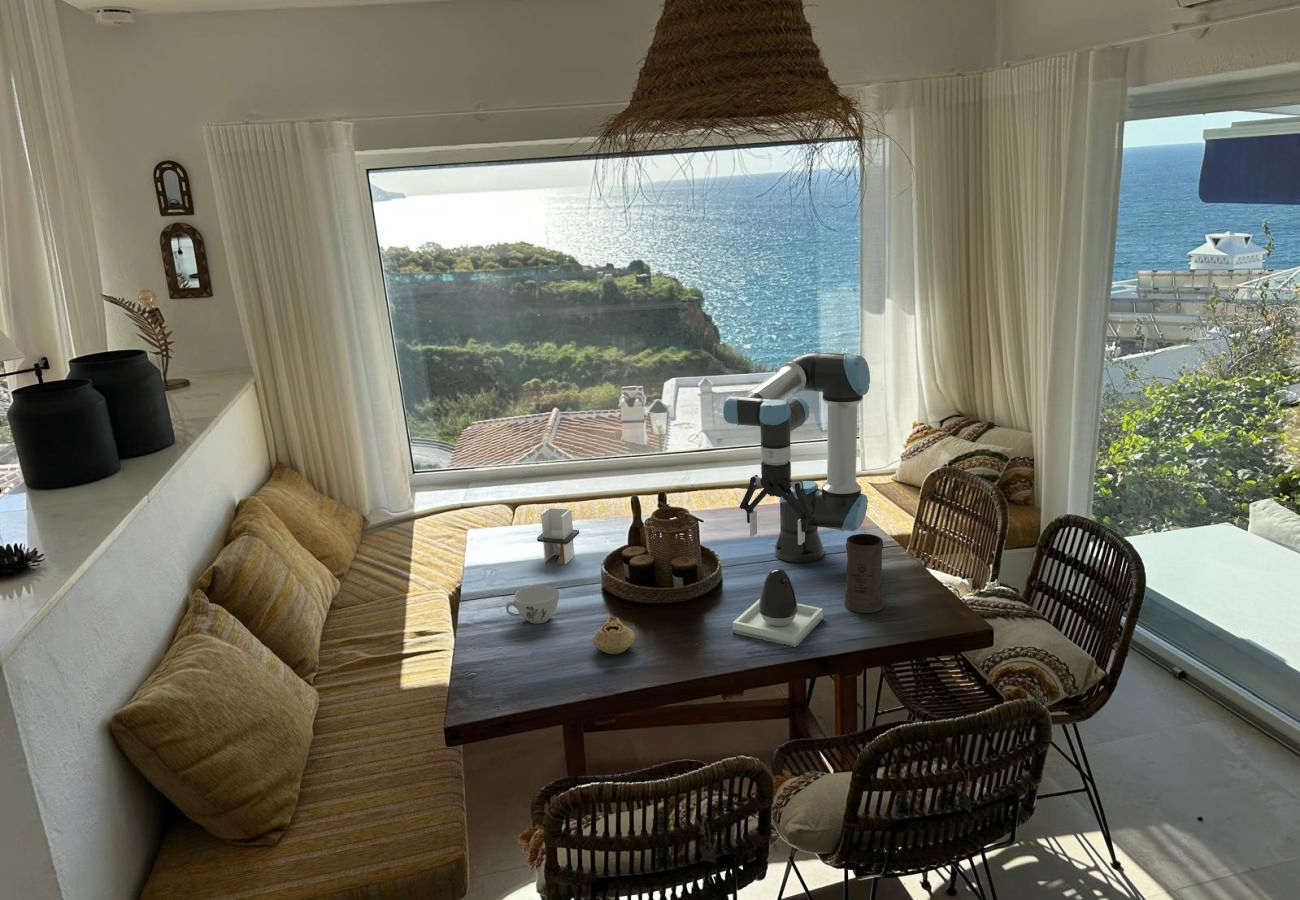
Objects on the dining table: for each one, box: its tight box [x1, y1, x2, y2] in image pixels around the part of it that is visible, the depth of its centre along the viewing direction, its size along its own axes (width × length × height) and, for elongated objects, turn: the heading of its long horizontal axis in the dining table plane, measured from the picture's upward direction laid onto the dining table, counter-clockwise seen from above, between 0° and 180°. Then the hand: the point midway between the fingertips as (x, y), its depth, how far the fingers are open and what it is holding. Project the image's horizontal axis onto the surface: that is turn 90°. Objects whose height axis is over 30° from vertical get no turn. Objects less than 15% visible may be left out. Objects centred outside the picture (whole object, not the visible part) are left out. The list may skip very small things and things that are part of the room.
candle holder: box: [536, 507, 580, 565], centre depth 303 cm, size 25×24×16 cm
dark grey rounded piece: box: [759, 568, 798, 626], centre depth 250 cm, size 10×10×15 cm
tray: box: [732, 598, 824, 648], centre depth 252 cm, size 18×18×3 cm
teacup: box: [505, 584, 560, 625], centre depth 262 cm, size 15×12×8 cm
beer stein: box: [843, 533, 885, 614], centre depth 261 cm, size 15×11×20 cm
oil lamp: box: [592, 616, 636, 655], centre depth 244 cm, size 11×15×8 cm
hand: (777, 538), depth 246 cm, fingers open, 13 cm apart
